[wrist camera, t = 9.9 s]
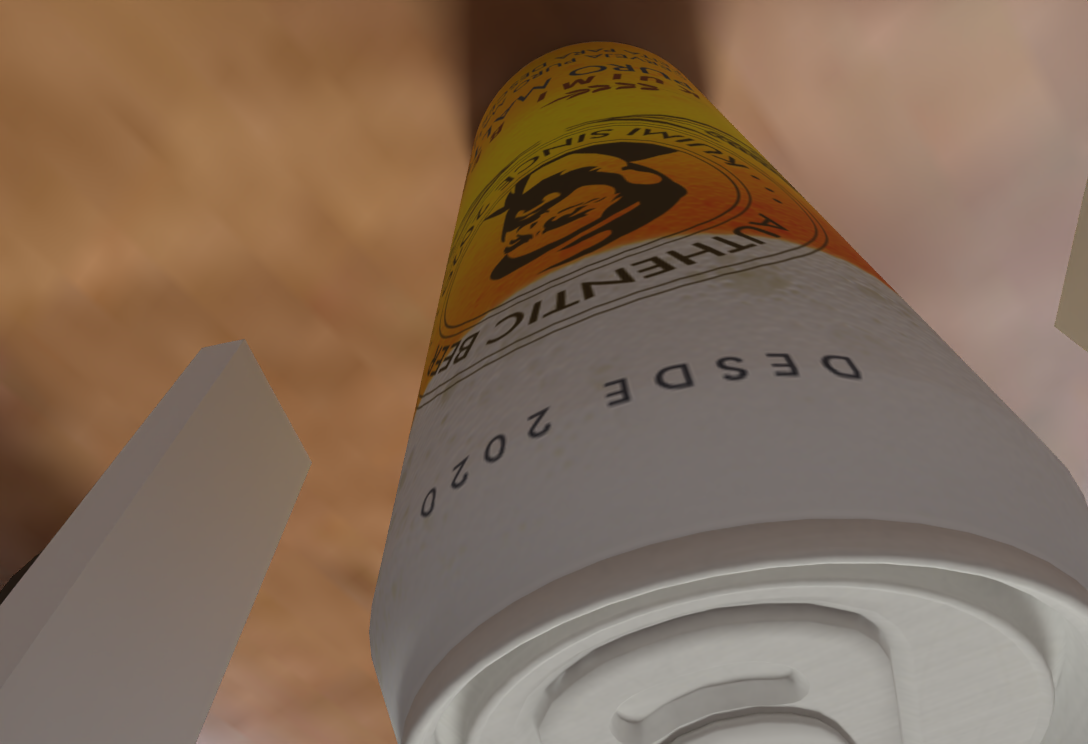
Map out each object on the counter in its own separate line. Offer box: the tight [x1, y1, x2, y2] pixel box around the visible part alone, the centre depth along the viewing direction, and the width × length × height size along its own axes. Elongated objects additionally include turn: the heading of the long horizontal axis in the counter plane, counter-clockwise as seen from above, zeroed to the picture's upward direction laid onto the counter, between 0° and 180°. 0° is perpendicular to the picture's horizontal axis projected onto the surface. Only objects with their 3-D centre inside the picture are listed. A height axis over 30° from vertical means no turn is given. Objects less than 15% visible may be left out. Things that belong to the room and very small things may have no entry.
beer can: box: [369, 41, 1088, 744], centre depth 11 cm, size 6×6×15 cm
